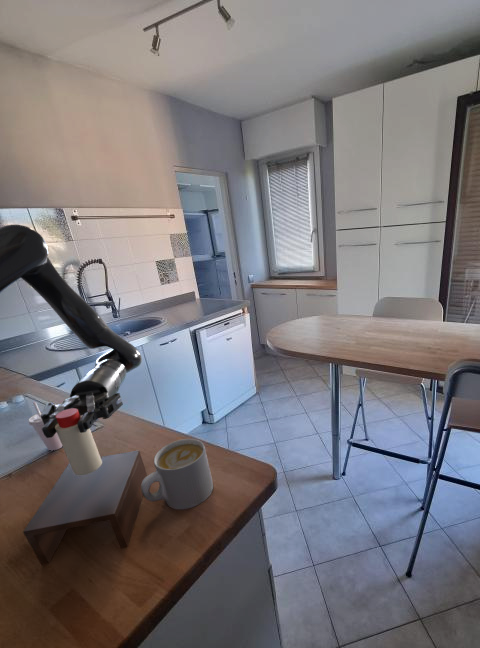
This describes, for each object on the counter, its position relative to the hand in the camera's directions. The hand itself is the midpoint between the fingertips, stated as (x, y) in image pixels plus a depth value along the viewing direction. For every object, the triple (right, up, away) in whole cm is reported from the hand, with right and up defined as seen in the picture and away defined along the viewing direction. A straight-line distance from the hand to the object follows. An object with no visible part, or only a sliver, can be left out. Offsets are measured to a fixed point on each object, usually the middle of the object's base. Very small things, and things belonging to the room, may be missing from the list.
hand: (64, 430), depth 58 cm
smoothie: (-25, -11, +33) cm, 43 cm away
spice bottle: (0, -8, +6) cm, 10 cm away
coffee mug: (+16, -16, +13) cm, 26 cm away
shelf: (+1, -19, +9) cm, 21 cm away
